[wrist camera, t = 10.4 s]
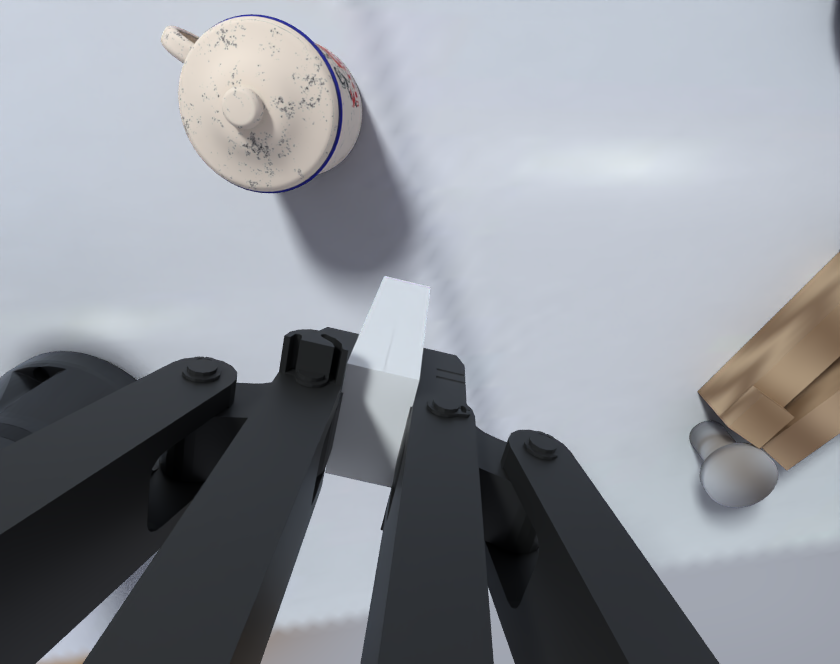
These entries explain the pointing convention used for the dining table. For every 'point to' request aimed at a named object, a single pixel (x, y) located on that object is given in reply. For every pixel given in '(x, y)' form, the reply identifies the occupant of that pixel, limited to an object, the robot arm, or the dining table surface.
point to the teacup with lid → (264, 102)
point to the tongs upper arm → (770, 387)
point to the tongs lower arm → (809, 429)
